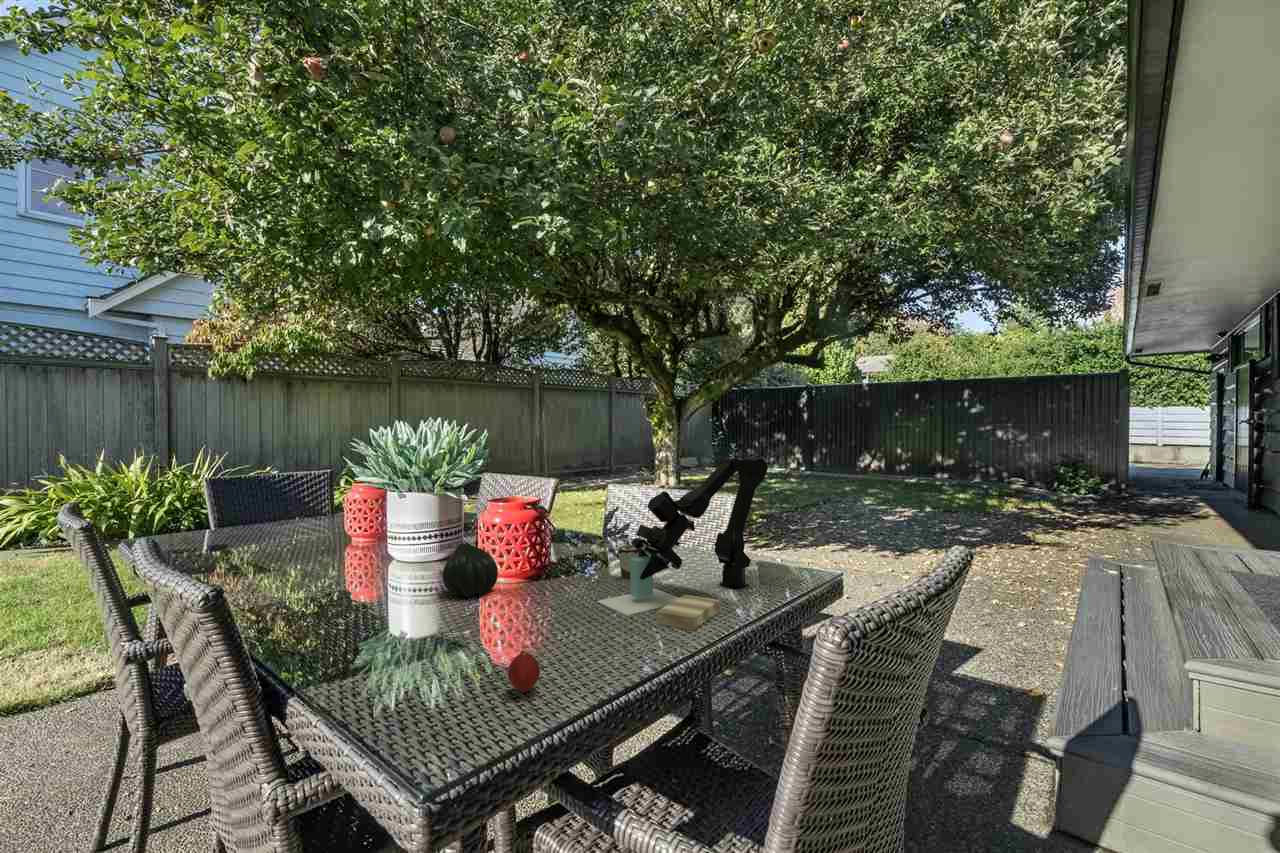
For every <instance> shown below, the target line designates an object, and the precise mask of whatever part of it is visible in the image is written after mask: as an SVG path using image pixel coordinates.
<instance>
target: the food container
mask: <svg viewBox="0 0 1280 853" xmlns="http://www.w3.org/2000/svg"><path fill="white" fill-rule="evenodd" d="M616 551H617V553H616V555H618V557H619V558H618V560H619V567H620V569H619V570H620V578H621V581H629V579H630V558H637V557H638V556H639V554H638V550H637V549H636V548H635V547H634V546H633V545H632V544H626V545H621V546H619V547H618V548H617V550H616ZM624 579H626V580H624Z"/></svg>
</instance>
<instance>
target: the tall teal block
mask: <svg viewBox="0 0 1280 853" xmlns="http://www.w3.org/2000/svg"><path fill="white" fill-rule="evenodd" d="M649 561H650V558H649V557H647V556H644V557H637V558H630V581H629V582H630V590H629V591H630V593H629V594H630V595H632V596H634V597H636V598H641V597H646V596H652V595H653V589H654V588H653V586H654V584H653V583H654V574H653V575H651V576H650V577H648V578H646V579H644V580H641V579H640V576H641V574H642V572H643V571H644V569H645V568H646V566H647V564H648V563H649Z"/></svg>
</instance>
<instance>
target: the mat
mask: <svg viewBox="0 0 1280 853" xmlns="http://www.w3.org/2000/svg"><path fill="white" fill-rule="evenodd" d="M678 598H680V597H679V596H675V595H674V594H670V593H667V592H666V591H665V592H664V591H662V590H659V589H656V588H653V595H652V596H646V597H641V598H636V597H634V596H632V595H630V593H627V594H623V595H619V596H614V597H610V598H605V599H604V598H603V599H601V600H597V601H596V603H597V602H598V603H600V604H599V605H601V604H602V605H601V606H603V605H604V606H603V607H605V606H606V608H607V607H608V608H607V609H609V610H612V611H614V610H615V612H616V611H617V612H616V613H619V614H621V615H622V616H626V617H630V616H635V615H639V614H642V613H646V611H647V612H650V610H651V611H654V609H655V610H659V609H661V608H663V607H665V606H666V605H668V604H670V603H671V602H673V601H675V600H676V599H678ZM598 603H597V604H598ZM658 608H659V609H658ZM638 613H639V614H638ZM634 614H635V615H634Z"/></svg>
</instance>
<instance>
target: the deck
mask: <svg viewBox="0 0 1280 853" xmlns="http://www.w3.org/2000/svg"><path fill="white" fill-rule="evenodd" d="M718 613H720V599H714V598H708V597H701V596H697V595H690V594H683V595H681V596H680V597H679V598H678V599H676V600H675V601H673V602H671V603H670V604H668V605H666V606H665V607H663V608H659V609H657V610H656V624H658V625H662V626H667V627H668V626H669V627H673V628H679V629H683V630H688V631H693V632H695V631H696V630H697V629H699V626H700V627H701V626H703V625H704V624H705V623H706V622H708V621H709V620H710V619H711V617H712V618H713V617H714V616H716V615H717V614H718ZM715 614H716V615H715ZM707 620H708V621H707ZM703 623H704V624H703ZM695 629H696V630H695Z"/></svg>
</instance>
